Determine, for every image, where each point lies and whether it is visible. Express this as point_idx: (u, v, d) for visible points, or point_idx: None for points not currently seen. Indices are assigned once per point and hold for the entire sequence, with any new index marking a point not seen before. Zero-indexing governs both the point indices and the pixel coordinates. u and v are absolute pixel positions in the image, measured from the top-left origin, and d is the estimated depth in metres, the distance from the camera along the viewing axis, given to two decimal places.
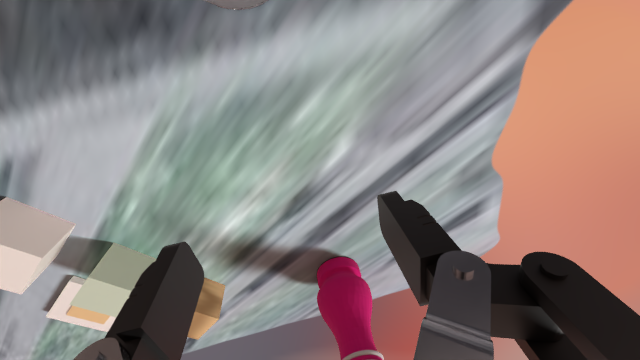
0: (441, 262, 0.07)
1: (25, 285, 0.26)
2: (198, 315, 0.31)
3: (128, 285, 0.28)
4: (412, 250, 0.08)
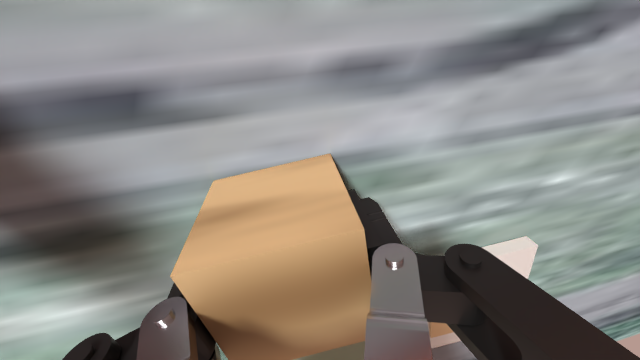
0: (376, 257, 0.07)
1: None
2: (222, 328, 0.08)
3: None
4: None
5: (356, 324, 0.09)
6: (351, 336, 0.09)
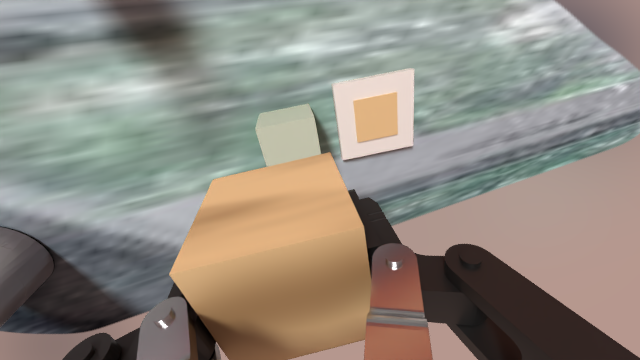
0: (376, 257, 0.07)
1: None
2: (221, 326, 0.08)
3: None
4: None
5: (356, 323, 0.09)
6: (351, 335, 0.09)
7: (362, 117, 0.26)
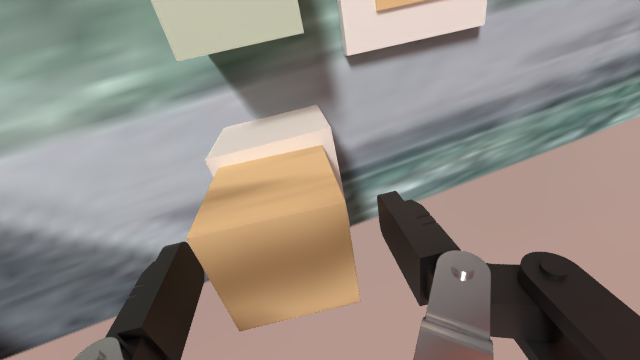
0: (441, 262, 0.07)
1: (300, 136, 0.12)
2: (227, 287, 0.09)
3: None
4: (412, 250, 0.08)
5: (341, 288, 0.10)
6: (336, 299, 0.10)
7: None
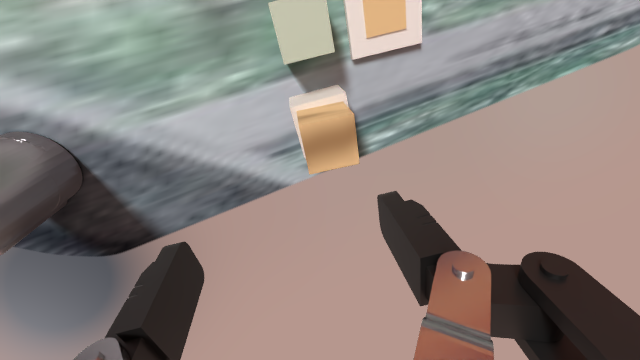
0: (442, 262, 0.07)
1: (332, 96, 0.27)
2: (308, 149, 0.24)
3: (273, 21, 0.24)
4: (413, 250, 0.08)
5: (351, 155, 0.25)
6: (349, 161, 0.25)
7: (371, 8, 0.27)
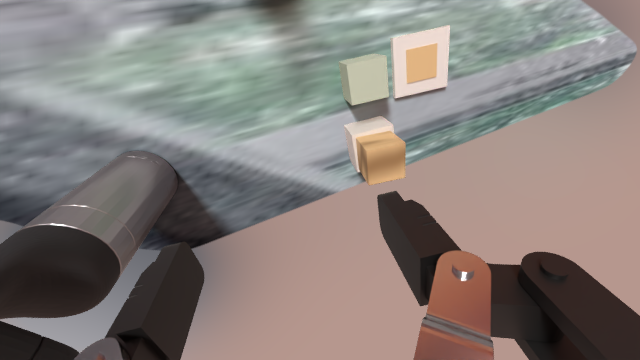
0: (441, 262, 0.07)
1: (382, 127, 0.36)
2: (370, 167, 0.33)
3: (347, 76, 0.33)
4: (412, 250, 0.08)
5: (400, 171, 0.34)
6: (398, 176, 0.35)
7: (412, 63, 0.36)
